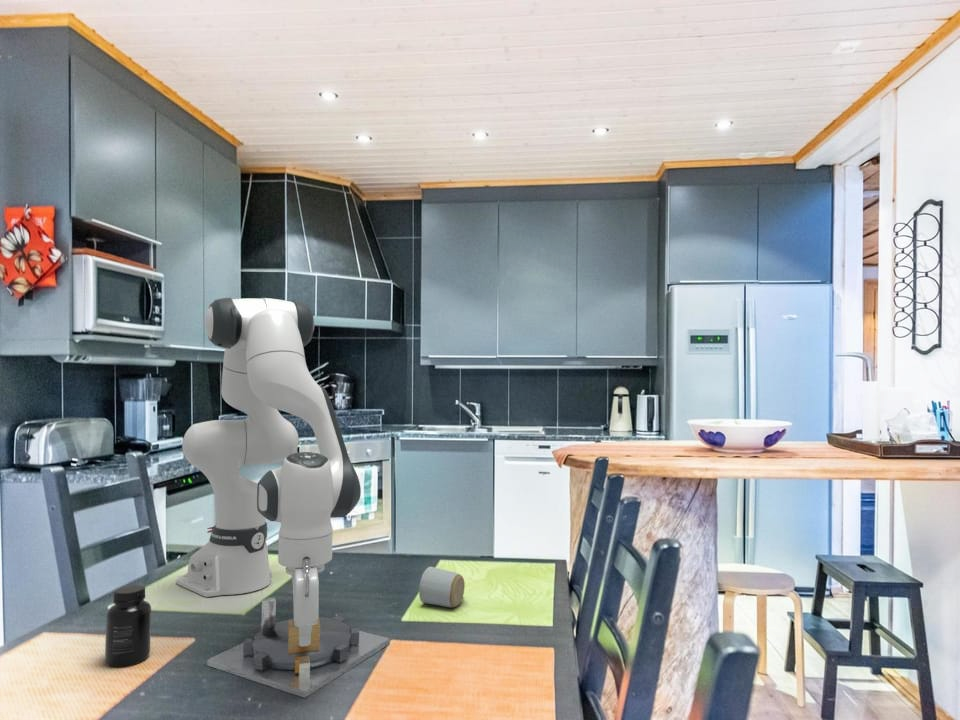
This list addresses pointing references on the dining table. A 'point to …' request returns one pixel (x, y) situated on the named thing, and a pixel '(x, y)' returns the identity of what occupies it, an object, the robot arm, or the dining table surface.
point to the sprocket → (273, 641)
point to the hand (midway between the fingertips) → (303, 632)
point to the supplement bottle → (128, 627)
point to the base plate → (289, 675)
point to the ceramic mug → (441, 587)
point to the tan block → (294, 639)
